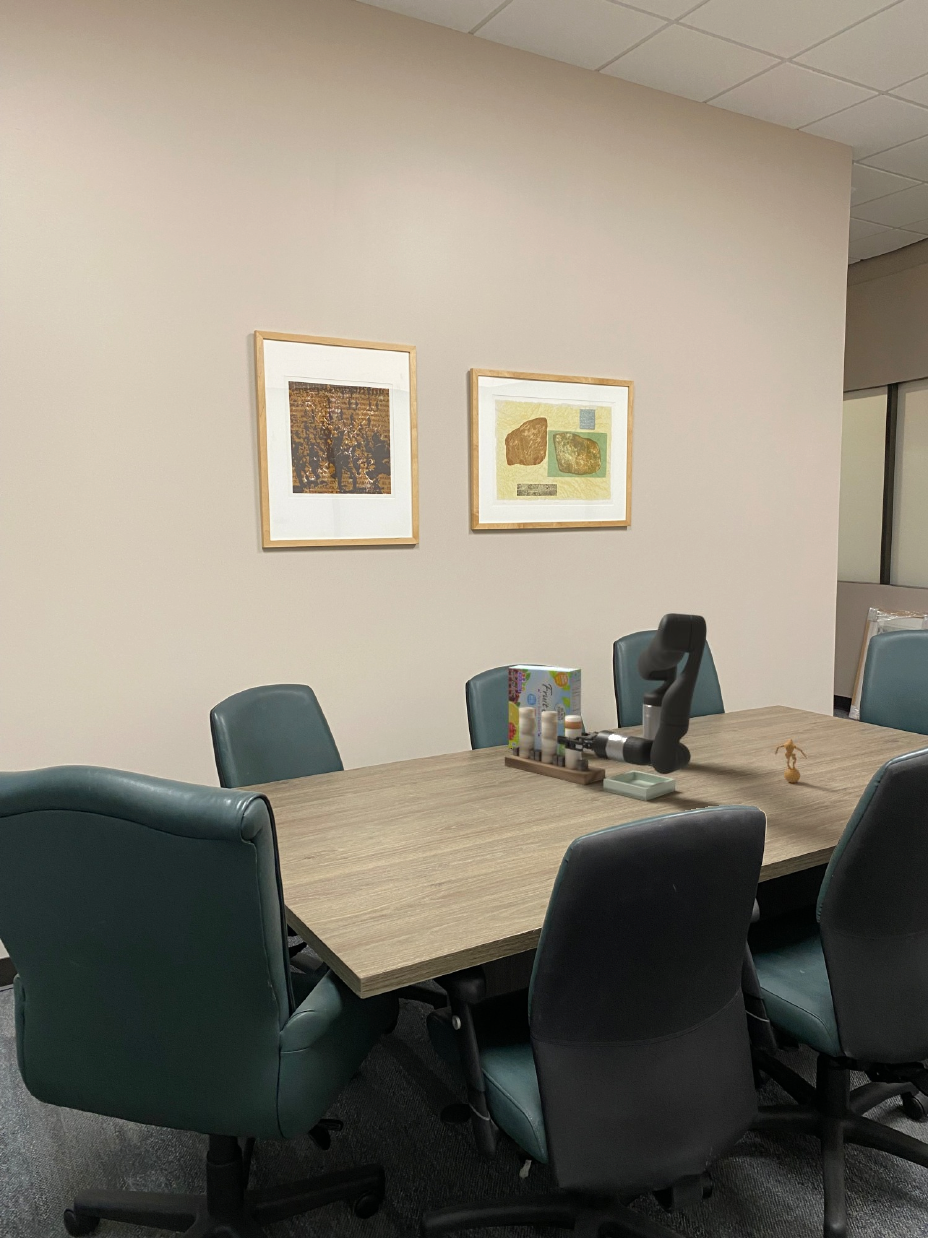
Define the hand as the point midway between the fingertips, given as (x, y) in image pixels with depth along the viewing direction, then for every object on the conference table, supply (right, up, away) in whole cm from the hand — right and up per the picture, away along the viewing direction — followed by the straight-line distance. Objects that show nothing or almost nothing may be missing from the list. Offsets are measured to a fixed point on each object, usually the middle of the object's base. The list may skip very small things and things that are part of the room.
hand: (567, 737), depth 240 cm
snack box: (-3, -8, +30) cm, 32 cm away
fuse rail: (-3, -10, +4) cm, 12 cm away
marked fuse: (+2, -8, -1) cm, 8 cm away
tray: (+17, -12, -15) cm, 25 cm away
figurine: (+58, -11, -9) cm, 60 cm away
